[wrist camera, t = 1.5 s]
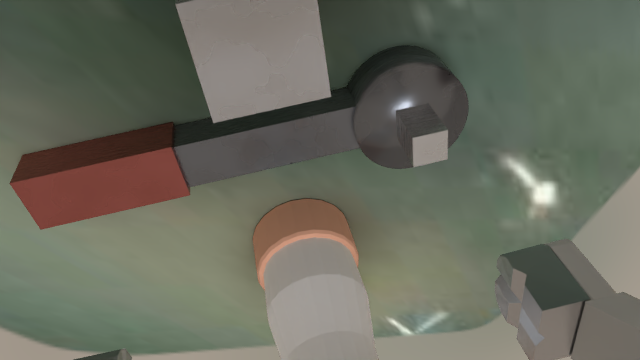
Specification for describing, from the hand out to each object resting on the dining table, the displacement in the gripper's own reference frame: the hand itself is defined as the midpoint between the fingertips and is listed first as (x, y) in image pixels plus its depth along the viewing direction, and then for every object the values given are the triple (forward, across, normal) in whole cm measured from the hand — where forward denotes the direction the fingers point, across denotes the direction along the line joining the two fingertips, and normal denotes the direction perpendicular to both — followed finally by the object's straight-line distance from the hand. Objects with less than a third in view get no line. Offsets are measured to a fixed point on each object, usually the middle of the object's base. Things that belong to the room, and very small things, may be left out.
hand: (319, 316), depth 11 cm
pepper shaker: (+22, 0, +18) cm, 28 cm away
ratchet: (+21, +2, +8) cm, 23 cm away
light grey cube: (+21, 0, 0) cm, 21 cm away
